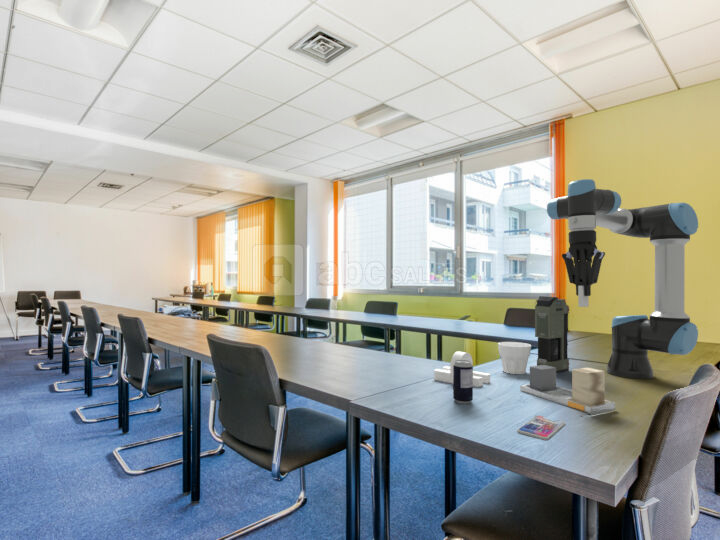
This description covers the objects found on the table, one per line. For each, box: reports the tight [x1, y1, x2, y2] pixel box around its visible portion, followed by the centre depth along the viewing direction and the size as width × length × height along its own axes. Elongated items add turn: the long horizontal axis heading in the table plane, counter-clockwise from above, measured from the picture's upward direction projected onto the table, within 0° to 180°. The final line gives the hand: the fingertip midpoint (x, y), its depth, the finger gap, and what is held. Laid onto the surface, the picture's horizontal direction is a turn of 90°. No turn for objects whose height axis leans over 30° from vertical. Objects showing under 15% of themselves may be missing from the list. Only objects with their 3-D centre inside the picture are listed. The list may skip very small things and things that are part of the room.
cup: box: [497, 341, 532, 375], centre depth 161 cm, size 12×12×11 cm
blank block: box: [529, 365, 557, 391], centre depth 131 cm, size 7×5×8 cm
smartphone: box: [516, 415, 566, 441], centre depth 101 cm, size 7×1×15 cm
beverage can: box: [452, 360, 474, 405], centre depth 122 cm, size 6×6×12 cm
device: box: [534, 295, 570, 375], centre depth 163 cm, size 14×8×30 cm, turn 124°
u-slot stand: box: [433, 350, 491, 388], centre depth 146 cm, size 10×18×11 cm, turn 47°
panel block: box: [571, 367, 606, 406], centre depth 116 cm, size 7×5×10 cm
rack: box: [519, 383, 616, 416], centre depth 123 cm, size 11×24×2 cm, turn 26°
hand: (583, 306), depth 125 cm, fingers closed
